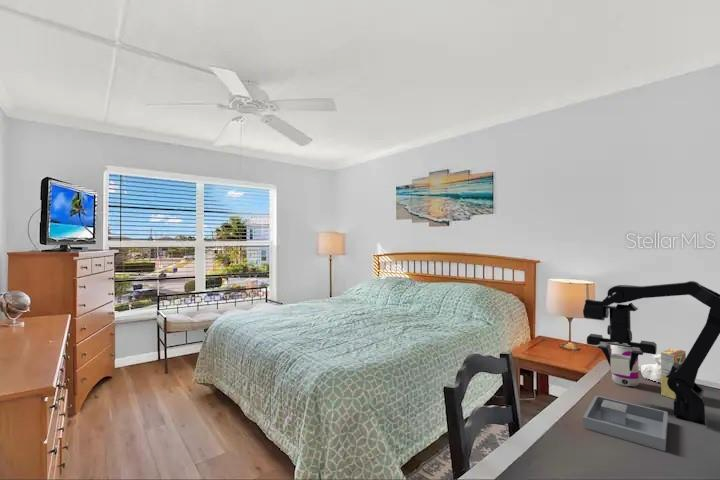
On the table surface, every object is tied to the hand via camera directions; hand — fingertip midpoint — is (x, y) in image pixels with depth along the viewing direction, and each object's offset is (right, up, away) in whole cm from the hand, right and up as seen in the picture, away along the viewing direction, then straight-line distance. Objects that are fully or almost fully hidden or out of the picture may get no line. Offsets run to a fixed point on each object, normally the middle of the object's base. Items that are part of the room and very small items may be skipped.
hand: (621, 368), depth 121 cm
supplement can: (+13, -11, +16) cm, 23 cm away
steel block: (-12, -10, -13) cm, 20 cm away
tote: (-11, -11, -17) cm, 23 cm away
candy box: (+22, -11, +5) cm, 25 cm away
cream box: (0, -1, 0) cm, 1 cm away
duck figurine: (+28, -11, +17) cm, 35 cm away
